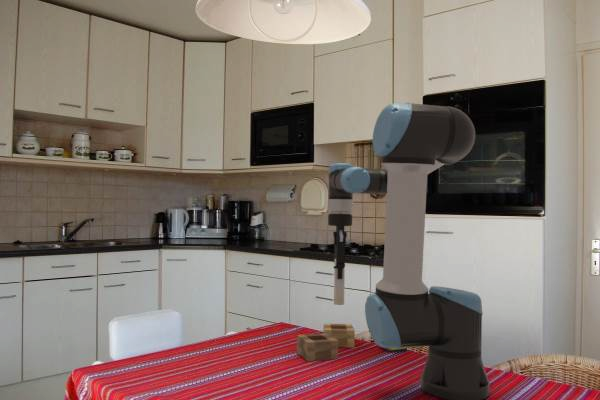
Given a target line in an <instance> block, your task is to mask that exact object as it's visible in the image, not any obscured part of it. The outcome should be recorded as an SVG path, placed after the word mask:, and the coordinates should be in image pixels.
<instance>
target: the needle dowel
mask: <svg viewBox="0 0 600 400" xmlns="http://www.w3.org/2000/svg"><path fill="white" fill-rule="evenodd" d="M334 261H335V262H333V263H334V264H333V265H334V266H336V259H335V258H334ZM334 266H333V269H334V271H333V272H334V273H333V275H334V277H333V305H337V306H343V305H345V289H344V290H335V268H334ZM345 268H346V266H345V267H344V281H346V279H345V278H346V277H345V275H346V274H345V272H346V270H345Z"/></svg>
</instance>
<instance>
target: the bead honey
mask: <svg viewBox="0 0 600 400" xmlns="http://www.w3.org/2000/svg"><path fill="white" fill-rule="evenodd" d="M322 333H327V334H328V335H330V336H332V337H333V338H335V339H337V340H338V348H355V328H354V326H353V324H352V323H323V331H322Z"/></svg>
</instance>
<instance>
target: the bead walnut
mask: <svg viewBox="0 0 600 400" xmlns="http://www.w3.org/2000/svg"><path fill="white" fill-rule="evenodd" d="M296 353H297V355H299V356H300V357H302V358H303V359H304V360H306V361H307V362H316V361H327V360H328V361H329V360H337V359H339V347H338V340H337V339H335V338H333V337H332V336H330V335H328V334H327V333H323V332H322V333H309V334H296Z"/></svg>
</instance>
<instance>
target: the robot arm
mask: <svg viewBox="0 0 600 400" xmlns="http://www.w3.org/2000/svg"><path fill="white" fill-rule="evenodd" d="M475 141H476V129H475V126H474V124H473V121H472V119H470V117H469V115H467V114H466V113H465V112H463V111H462V110H461V109H458V108H456V107H453V106H448V105H443V106H442V105H433V104H431V105H430V104H421V103H413V102H412V103H411V102H397V103H395V102H394V103H393V102H392V103H390V104H387V105H386V106H384V107H383V108H382V110H381V111H380V113H379V115H378V117H377V118H376V121H375V125H374V128H373V133H372V143H371V144H372V146H373V147H372V148H373V152H374V154H375V155H376V156H378V157H381V166H382V167H383V168H366V167H365V168H363V167H360V166H353V165H352V164H350V163H346V162H344V163H343V162H342V163H340V162H339V163H337V162H336V163H331V164H330V165H329V167H328V173H327V177H328V200H327V201H328V202H327V203H328V206H327V211H328V212H329V213H328V216H327V224H328V226H331V227H335V231H333V232H332V234H333V245H334V262H335V259H336V266H333V269H334V268H335V290H344V291H345V280H344V267H345V268H346V246H347V237H348V236H347V235H348V233H347V231H345V227H352V226H353V214H352V212H353V207H354V206H355V202H353V197H354V196H353V194H359V195H362V194H363V195H364V194H366V195H367V194H368V195H369V194H370V195H386V203H385V204H386V208H385V222H384V223H385V226H384V229H385V230H384V249H383V250H384V251H383V266H382V267H383V272H382V278H381V279H380V280H379V281H378V282H377V283H376V284H375V292H374V293H375V294H374V293H372V294H370V295H368V296H367V298H366V301H365V304H364V316H365V320H366V326H367V329H368V331H369V334H370V336H371V338H372V340H373V342H375V344H376V345H378V346H379V347H380V346H381V347H384V348H397V349H398V348H403V347H407V348H415V347H418V348H419V347H428V356H427V358H426V361H425V364H424V367H423V371H422V372H421V375H420V376H421V377H420V388H421V389H422V391H424V392H425V393H427V394H429V395H430V396H434V397H436V398H440V399H444V400H484V399H487V398H488V397H489V396H490V381H489V379H488V375H487V372H486V369H485V366H484V362H483V360H482V359H483V358H482V346H483V345H482V343H483V342H482V341H483V340H482V338H483V337H482V333H483V332H482V331H483V330H482V328H483V325H482V323H483V315H484V313H483V306H482V298H481V297H480V295H478V294H477V293H474V292H472V291H467V290H463V289H459V288H451V287H445V286H438V285H437V286H435V285H433V286H430V287H429V288H428V286H427V285H426V284H425V283H424V282H423V265H424V250H425V249H424V247H425V246H424V245H425V226H426V225H425V224H426V208H427V207H426V206H427V188H428V187H427V184H428V175H429V174H431V173H433V172H434V171H436V170H438V169H439V168H441V167H442V166H444V165H448V166H449V165H453V164H455V163H457V162H459V161H461V160H462V159H464V158H465V157H466V156H467V155H468V154H469V153H470V152H471V150H472V149H473V146H474V144H475ZM334 262H333V263H334Z"/></svg>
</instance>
